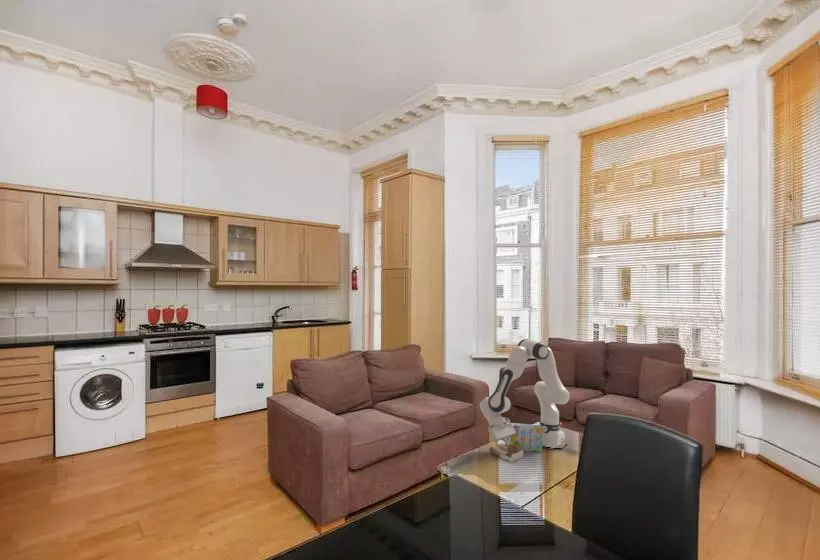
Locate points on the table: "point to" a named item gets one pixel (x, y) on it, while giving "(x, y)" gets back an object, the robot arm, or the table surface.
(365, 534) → the table surface
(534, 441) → the snack box
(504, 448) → the birch board
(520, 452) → the tray
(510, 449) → the walnut block
